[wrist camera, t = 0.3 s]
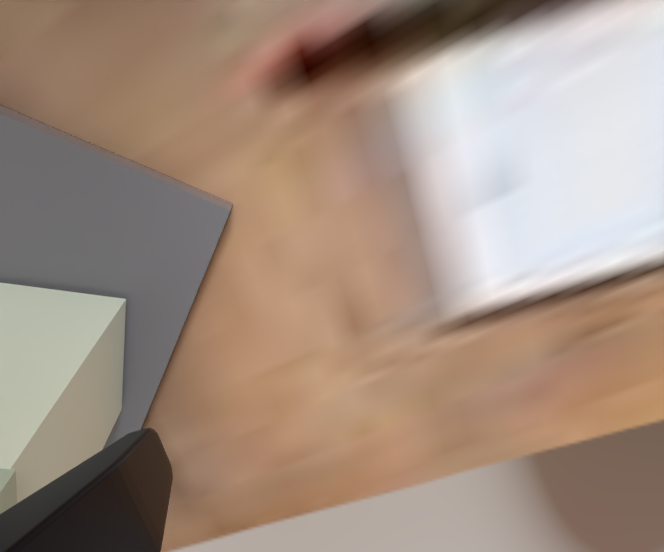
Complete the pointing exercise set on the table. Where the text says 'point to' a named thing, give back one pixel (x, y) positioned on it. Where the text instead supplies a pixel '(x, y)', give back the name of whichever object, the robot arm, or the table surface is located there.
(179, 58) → the table surface
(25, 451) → the sage green canister
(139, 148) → the table surface
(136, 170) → the board
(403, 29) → the table surface
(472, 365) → the table surface
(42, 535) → the robot arm
